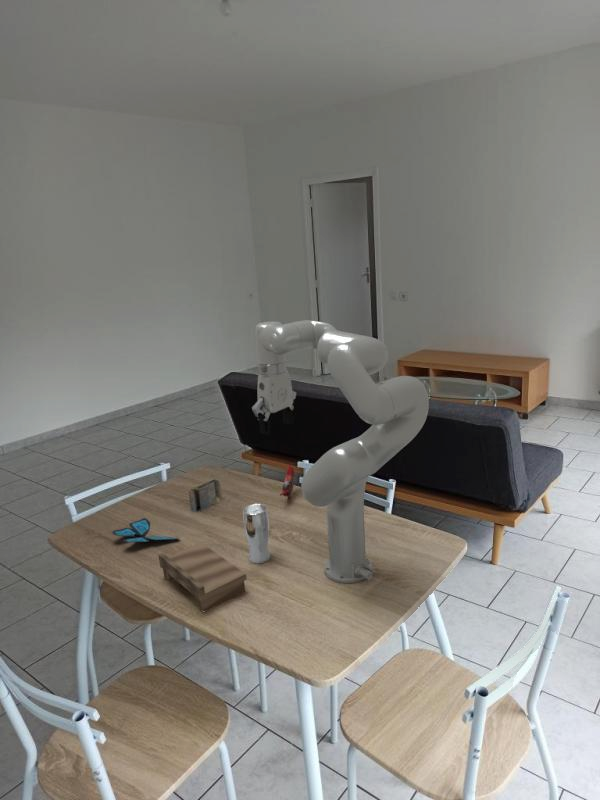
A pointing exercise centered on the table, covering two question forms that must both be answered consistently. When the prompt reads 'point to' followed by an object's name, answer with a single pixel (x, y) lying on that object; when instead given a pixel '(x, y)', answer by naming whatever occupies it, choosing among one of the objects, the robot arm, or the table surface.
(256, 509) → the beer glass
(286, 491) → the decorative bird figurine
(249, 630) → the table surface
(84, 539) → the table surface
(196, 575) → the display ledge
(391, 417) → the robot arm
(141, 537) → the decorative butterfly
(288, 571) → the table surface
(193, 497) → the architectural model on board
